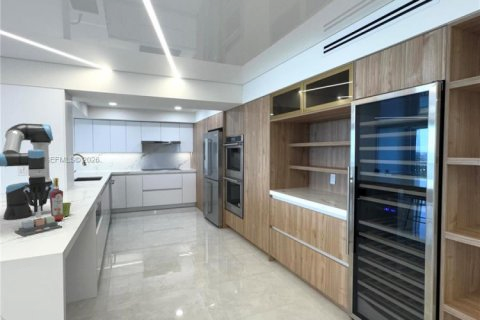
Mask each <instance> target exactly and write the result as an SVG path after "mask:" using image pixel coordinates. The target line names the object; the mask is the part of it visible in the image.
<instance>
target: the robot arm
mask: <svg viewBox="0 0 480 320" xmlns="http://www.w3.org/2000/svg"><path fill="white" fill-rule="evenodd" d="M4 136H5V143H4V146H3V150H2V152H0V167H5V168H6V167H28V170H27V171H28V182H27V181H25V182H19V183H12V184H9V185H7V186H6V187H5V196H6V197H5V198H6V208H5V211H4V213H3V220H6V221H7V220H8V221H9V220H10V221H11V220H19V219H20V220H21V219H26V218H29V217H32V216H33V212H34V213H35V218H36V219H39V218H42V212H43V210H44V205H47V202H48V200H50V195H49V192H51V191H53V188H54V181H53V179H52V178H51V177H50V174H51V173H50V153H49V151H50V150H49V146H50V145H51V143H52V141H54V136H53V132H52V126H51V125H50V124H44V123H24V122H23V123H18V124H14V125H13V126H11V127H10V128H8V129H7V130H6V132H5V135H4ZM23 141H30V142H29V143H30V144H31V145H32V146H33V147H32V148H33V149H28V151H27V152H26V153H25V152H21V148H22V142H23ZM31 207H33V210H32V208H31Z"/></svg>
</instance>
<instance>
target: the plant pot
mask: <svg viewBox="0 0 480 320" xmlns="http://www.w3.org/2000/svg"><path fill="white" fill-rule="evenodd" d="M71 205H72V202H63V218H66V217H69V216H70V211H71V210H70V209H71Z"/></svg>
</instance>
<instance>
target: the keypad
mask: <svg viewBox="0 0 480 320" xmlns="http://www.w3.org/2000/svg"><path fill="white" fill-rule="evenodd" d="M58 222H59V221H56V222H53V223H49V224H46V223H45V224H44V225H40V226H34V227H31V228H26V229H24V228H22V226H21V227H18V230H14V233H15V234H17V235H19V236H22V237H29V236H33V235H37V234H41V233H42V234H43V233H45V232H49V231H54V230H57V229H59V230H60V229H62V228H63V226H62V225H60V224H58Z"/></svg>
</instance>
